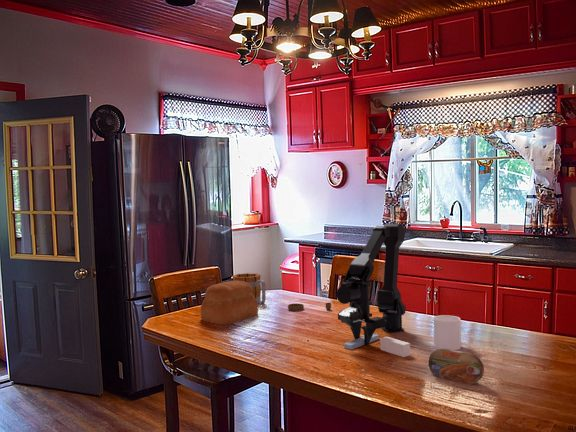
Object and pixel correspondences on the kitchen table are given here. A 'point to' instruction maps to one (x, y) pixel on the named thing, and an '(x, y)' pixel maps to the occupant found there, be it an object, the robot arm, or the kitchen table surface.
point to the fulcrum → (395, 346)
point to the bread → (228, 303)
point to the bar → (359, 342)
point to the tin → (456, 366)
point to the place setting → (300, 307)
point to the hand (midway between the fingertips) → (361, 343)
